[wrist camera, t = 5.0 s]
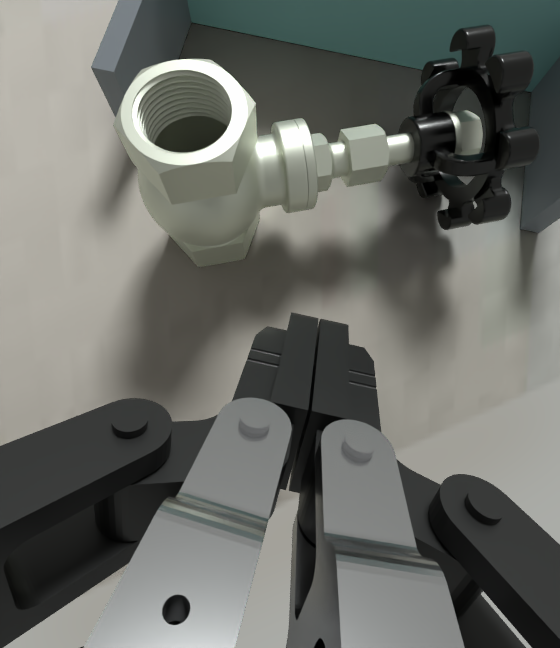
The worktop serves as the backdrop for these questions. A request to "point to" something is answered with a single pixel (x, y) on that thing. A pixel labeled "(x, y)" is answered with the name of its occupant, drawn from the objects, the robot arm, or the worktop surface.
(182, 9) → the walled bay
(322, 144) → the valve
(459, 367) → the worktop surface
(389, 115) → the worktop surface
